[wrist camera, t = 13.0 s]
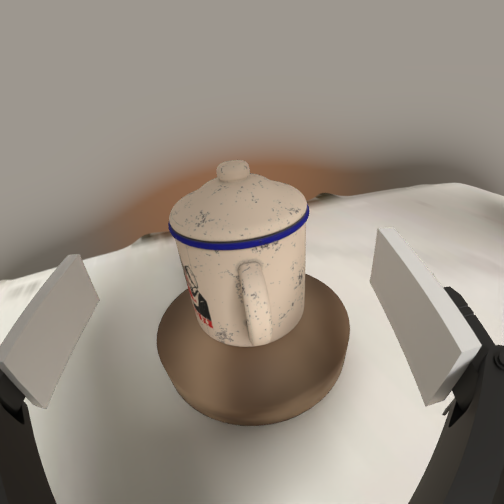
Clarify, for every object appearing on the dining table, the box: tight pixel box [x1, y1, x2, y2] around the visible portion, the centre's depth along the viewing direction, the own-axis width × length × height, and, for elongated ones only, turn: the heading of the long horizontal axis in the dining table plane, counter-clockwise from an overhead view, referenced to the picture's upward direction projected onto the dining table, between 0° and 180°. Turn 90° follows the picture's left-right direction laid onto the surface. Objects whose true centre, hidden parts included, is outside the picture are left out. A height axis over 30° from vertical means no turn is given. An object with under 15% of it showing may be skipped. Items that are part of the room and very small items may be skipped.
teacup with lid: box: [169, 160, 309, 347], centre depth 19 cm, size 12×9×12 cm
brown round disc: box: [157, 274, 350, 426], centre depth 23 cm, size 15×15×3 cm
